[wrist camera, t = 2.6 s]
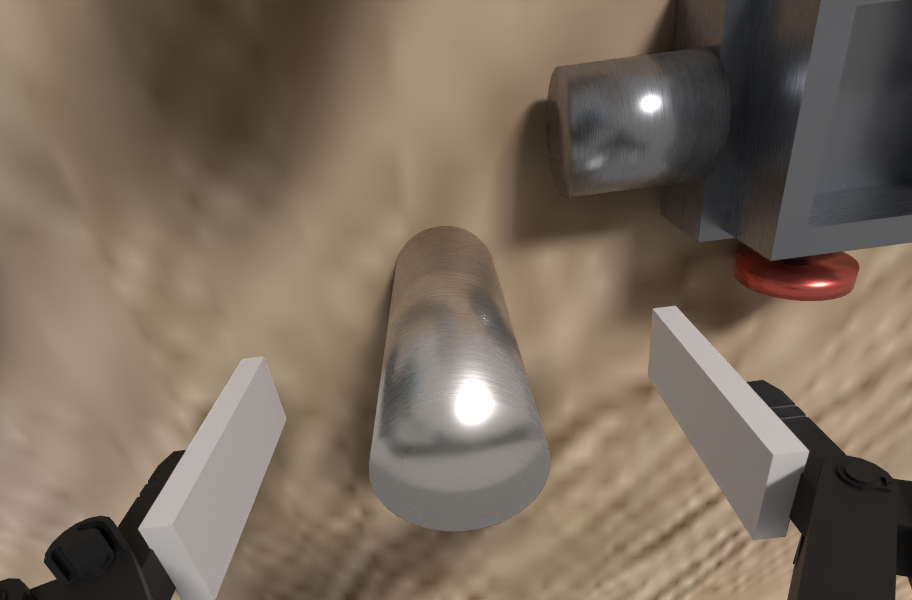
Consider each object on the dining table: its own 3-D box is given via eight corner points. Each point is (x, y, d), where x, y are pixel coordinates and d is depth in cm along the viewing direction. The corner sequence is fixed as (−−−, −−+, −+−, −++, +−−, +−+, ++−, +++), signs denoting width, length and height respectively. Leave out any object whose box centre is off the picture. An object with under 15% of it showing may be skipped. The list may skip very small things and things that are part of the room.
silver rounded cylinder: (404, 321, 24) (387, 540, 14) (387, 233, 22) (350, 411, 12) (497, 309, 24) (552, 519, 14) (489, 219, 22) (547, 386, 12)
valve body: (552, 284, 24) (592, 362, 18) (543, -3, 18) (596, -22, 12) (866, 243, 24) (1007, 308, 18) (952, -59, 18) (1197, -104, 12)
